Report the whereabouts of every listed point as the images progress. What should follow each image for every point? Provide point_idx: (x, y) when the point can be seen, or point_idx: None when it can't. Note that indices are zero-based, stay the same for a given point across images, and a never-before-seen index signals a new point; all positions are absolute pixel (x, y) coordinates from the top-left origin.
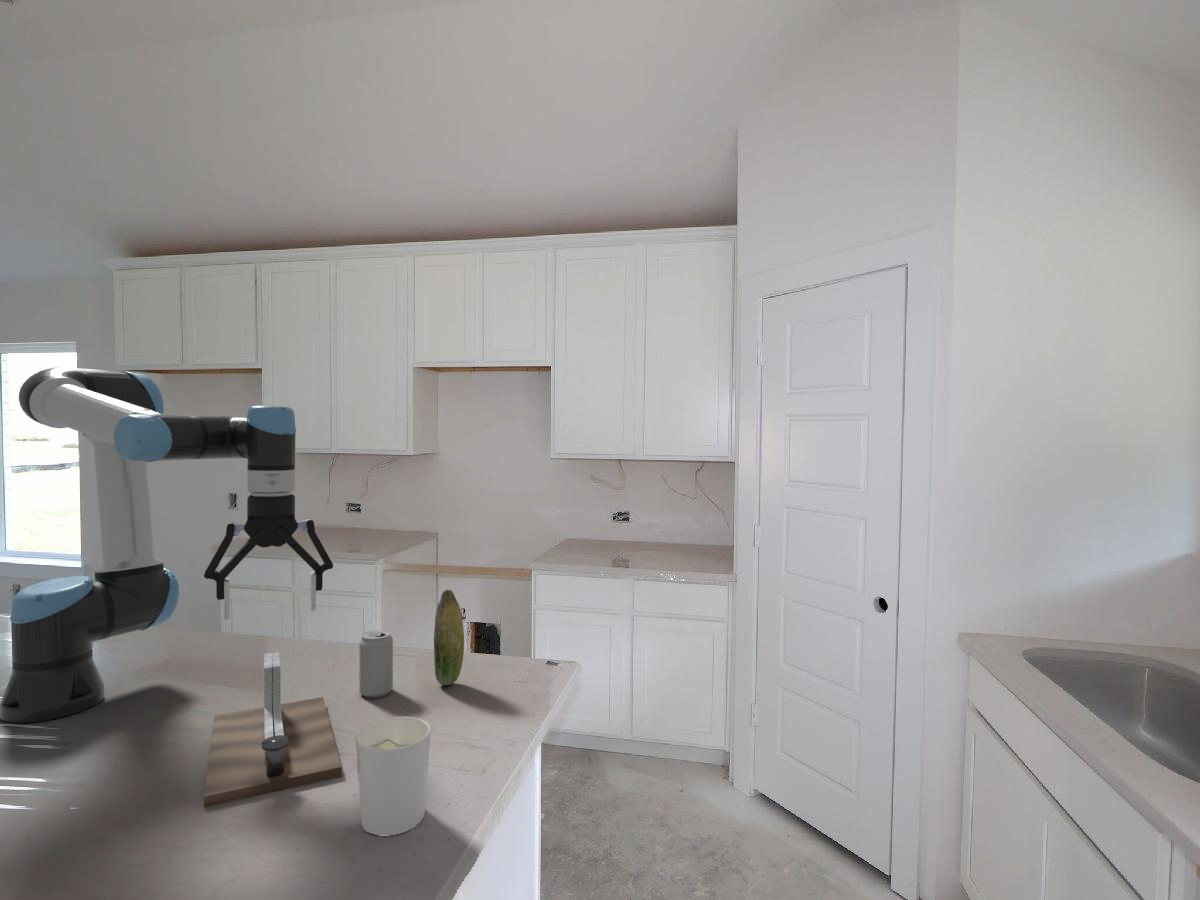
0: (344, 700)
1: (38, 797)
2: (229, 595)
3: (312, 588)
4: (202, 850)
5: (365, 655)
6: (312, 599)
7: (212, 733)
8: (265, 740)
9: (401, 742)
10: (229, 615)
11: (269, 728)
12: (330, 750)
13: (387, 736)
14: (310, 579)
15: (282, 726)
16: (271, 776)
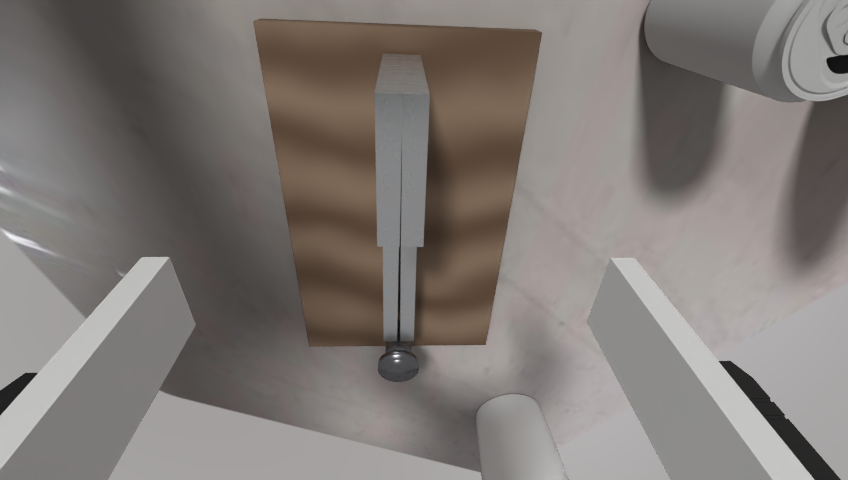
0: (593, 24)
1: (36, 224)
2: (106, 403)
3: (654, 434)
4: (325, 397)
5: (725, 70)
6: (619, 372)
7: (275, 144)
8: (383, 363)
9: (549, 462)
10: (177, 290)
11: (391, 288)
12: (483, 300)
13: (535, 471)
14: (711, 438)
15: (414, 290)
16: None
